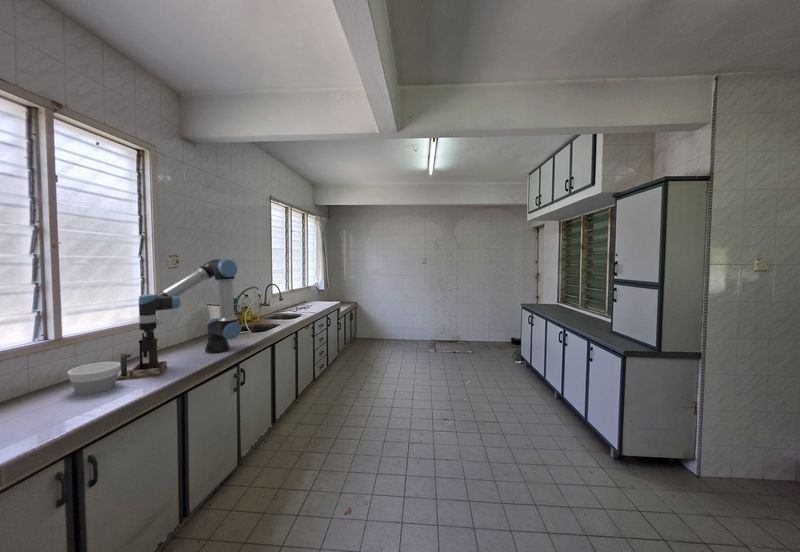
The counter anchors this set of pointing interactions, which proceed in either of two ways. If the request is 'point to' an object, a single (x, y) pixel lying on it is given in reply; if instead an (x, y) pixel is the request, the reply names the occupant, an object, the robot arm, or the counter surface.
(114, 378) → the bowl
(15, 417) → the counter surface
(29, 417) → the counter surface
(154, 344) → the container
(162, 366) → the hook shelf
